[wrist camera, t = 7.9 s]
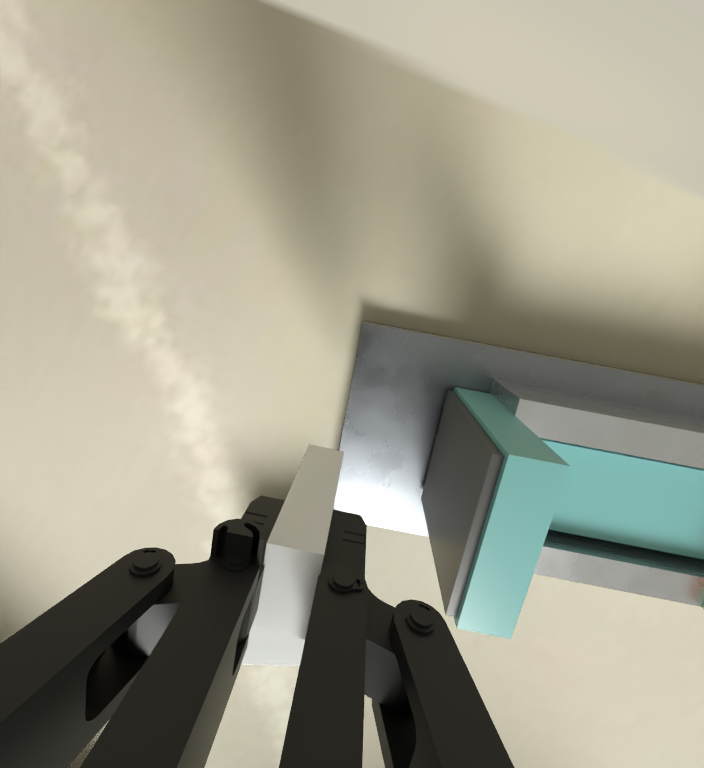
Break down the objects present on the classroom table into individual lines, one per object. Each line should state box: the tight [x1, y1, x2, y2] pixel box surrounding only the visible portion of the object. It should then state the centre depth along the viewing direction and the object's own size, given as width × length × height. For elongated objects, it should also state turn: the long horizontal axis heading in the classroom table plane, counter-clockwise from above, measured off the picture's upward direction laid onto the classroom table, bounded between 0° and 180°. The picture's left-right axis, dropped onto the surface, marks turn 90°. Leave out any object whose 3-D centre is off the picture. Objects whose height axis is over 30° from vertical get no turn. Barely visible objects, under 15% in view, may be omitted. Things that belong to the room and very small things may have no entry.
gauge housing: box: [333, 321, 704, 609], centre depth 20 cm, size 27×12×7 cm, turn 80°
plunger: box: [421, 387, 704, 639], centre depth 18 cm, size 16×9×9 cm, turn 80°
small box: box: [241, 618, 305, 666], centre depth 24 cm, size 6×6×5 cm
